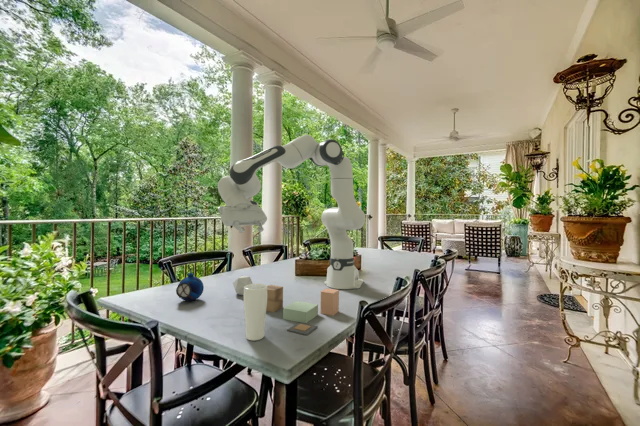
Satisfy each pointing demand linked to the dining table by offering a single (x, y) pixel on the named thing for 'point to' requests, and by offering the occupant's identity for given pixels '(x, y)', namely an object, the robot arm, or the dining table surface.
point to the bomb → (190, 288)
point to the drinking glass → (255, 310)
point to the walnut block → (274, 298)
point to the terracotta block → (329, 301)
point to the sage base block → (300, 311)
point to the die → (241, 284)
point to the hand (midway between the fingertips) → (252, 231)
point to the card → (302, 328)
